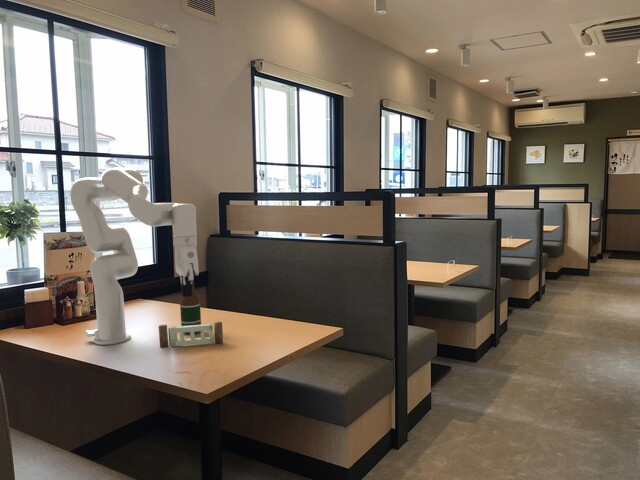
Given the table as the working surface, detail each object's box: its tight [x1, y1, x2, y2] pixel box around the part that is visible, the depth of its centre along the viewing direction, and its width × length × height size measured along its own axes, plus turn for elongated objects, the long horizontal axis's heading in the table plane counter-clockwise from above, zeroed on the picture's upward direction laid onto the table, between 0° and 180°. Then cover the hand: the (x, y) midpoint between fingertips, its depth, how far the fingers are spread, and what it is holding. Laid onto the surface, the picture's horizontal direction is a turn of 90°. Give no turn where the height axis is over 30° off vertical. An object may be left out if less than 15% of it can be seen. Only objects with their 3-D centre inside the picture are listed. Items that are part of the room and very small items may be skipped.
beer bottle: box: [179, 280, 202, 336], centre depth 192 cm, size 8×8×24 cm
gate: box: [168, 323, 214, 348], centre depth 175 cm, size 15×2×6 cm, turn 101°
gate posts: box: [158, 321, 224, 349], centre depth 177 cm, size 22×4×8 cm, turn 96°
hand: (186, 295), depth 167 cm, fingers closed
